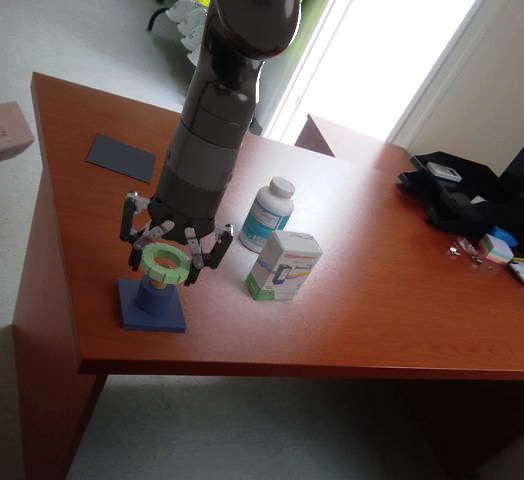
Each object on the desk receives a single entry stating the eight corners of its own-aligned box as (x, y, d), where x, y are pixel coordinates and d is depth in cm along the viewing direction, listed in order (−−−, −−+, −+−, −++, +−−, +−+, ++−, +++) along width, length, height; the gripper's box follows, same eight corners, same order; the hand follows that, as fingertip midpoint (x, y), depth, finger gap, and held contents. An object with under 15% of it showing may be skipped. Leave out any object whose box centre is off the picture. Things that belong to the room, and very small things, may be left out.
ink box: (281, 281, 86) (311, 231, 78) (293, 301, 83) (325, 251, 76) (243, 281, 81) (270, 227, 73) (254, 301, 79) (284, 248, 71)
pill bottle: (261, 231, 95) (290, 174, 86) (278, 255, 92) (310, 198, 83) (231, 230, 91) (258, 169, 82) (247, 255, 87) (277, 194, 78)
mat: (86, 161, 85) (86, 160, 85) (97, 134, 93) (98, 133, 93) (149, 184, 89) (150, 183, 89) (156, 156, 97) (156, 155, 97)
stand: (122, 329, 63) (134, 287, 57) (116, 283, 68) (127, 241, 62) (184, 333, 67) (201, 294, 62) (174, 290, 72) (189, 251, 67)
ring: (136, 275, 58) (138, 267, 58) (142, 244, 63) (145, 236, 62) (186, 290, 61) (189, 282, 60) (188, 259, 65) (191, 251, 64)
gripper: (255, 174, 57) (211, 273, 68) (139, 128, 52) (112, 243, 63) (258, 206, 52) (209, 307, 63) (130, 158, 47) (102, 277, 58)
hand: (161, 275), depth 63 cm, fingers closed on ring, 6 cm apart
